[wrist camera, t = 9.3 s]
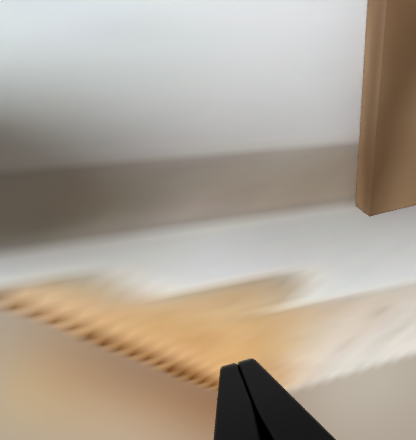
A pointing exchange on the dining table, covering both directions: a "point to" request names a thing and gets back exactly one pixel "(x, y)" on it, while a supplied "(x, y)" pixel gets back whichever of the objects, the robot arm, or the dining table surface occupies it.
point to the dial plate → (388, 109)
